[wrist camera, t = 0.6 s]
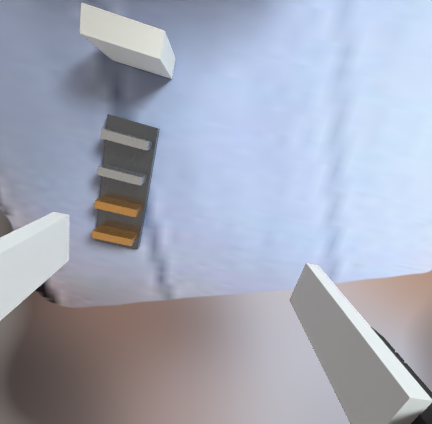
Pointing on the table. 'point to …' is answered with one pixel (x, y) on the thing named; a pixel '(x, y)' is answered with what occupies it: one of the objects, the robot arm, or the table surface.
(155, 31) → the panel
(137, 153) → the rack
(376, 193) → the table surface
